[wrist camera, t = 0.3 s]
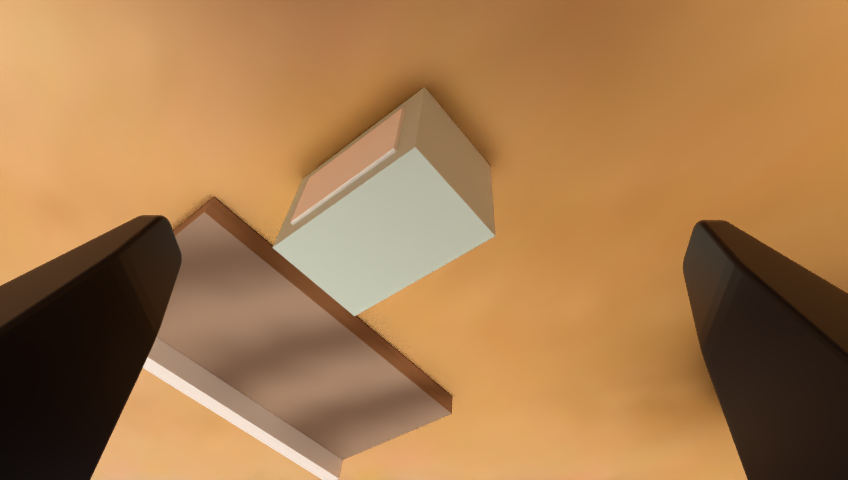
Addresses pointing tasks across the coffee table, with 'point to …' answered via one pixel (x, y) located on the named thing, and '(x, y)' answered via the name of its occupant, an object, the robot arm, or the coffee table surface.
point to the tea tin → (390, 207)
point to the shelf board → (289, 341)
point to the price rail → (240, 410)
